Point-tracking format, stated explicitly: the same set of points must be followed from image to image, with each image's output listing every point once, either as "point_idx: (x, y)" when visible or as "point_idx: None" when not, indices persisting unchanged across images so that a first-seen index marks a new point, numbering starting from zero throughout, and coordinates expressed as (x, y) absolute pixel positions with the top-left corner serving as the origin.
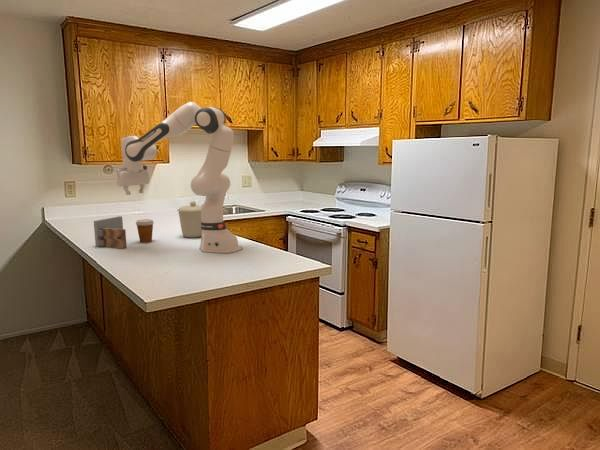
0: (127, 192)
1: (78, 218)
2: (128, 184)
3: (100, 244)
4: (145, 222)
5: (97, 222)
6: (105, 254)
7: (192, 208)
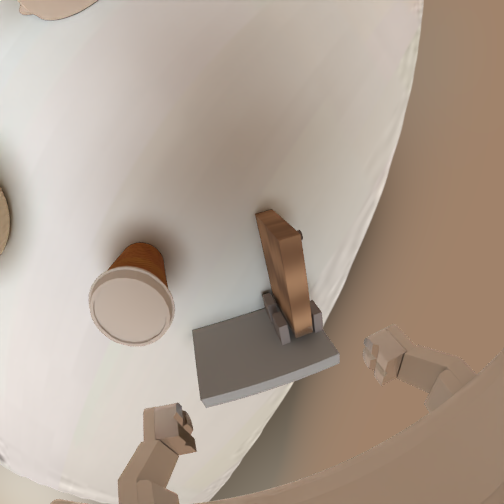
0: (406, 345)
1: None
2: (482, 389)
3: None
4: (142, 278)
5: (332, 351)
6: (351, 181)
7: None
